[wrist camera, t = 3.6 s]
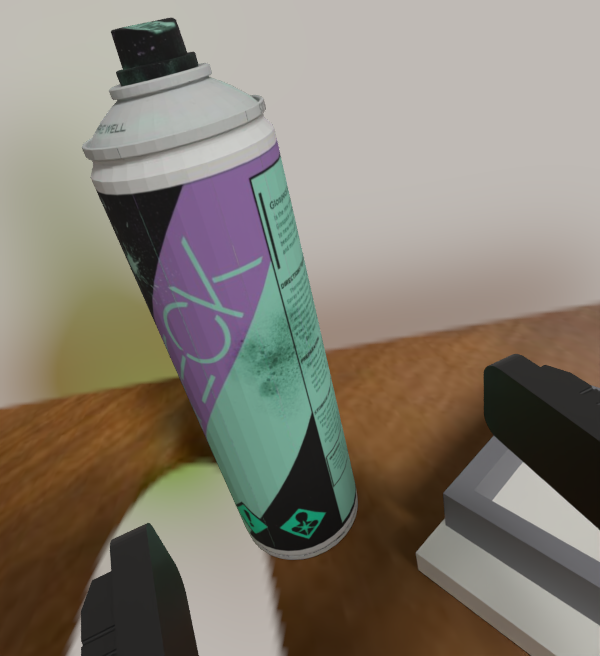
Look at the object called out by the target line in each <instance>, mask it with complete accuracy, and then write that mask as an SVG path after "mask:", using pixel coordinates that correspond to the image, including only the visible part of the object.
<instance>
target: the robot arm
mask: <svg viewBox="0 0 600 656" xmlns="http://www.w3.org/2000/svg"><path fill="white" fill-rule="evenodd" d="M484 417H485V420H486V423H487V425H488V427H489V429H490V431H491V432H492V433H493V435H494V436H495V437H496V438H497V439H498V440H499V441H500V442H501V443H502V444H504V445H505V446H506V447H507V448H508V449H509V450H510V451H511V452H513V453H514V454H515V455H516V456H517V457H518V458H519V459H520V460H521V461H523V462H524V463H525V464H526V465H527V466H528V467H529V468H530V469H532V470H533V471H534V472H535V473H536V474H537V475H538V476H539V477H541V478H542V479H543V480H544V481H545V482H546V483H547V484H548V485H550V486H551V487H552V488H553V489H554V490H555V491H556V492H557V493H559V494H560V495H561V496H562V497H563V498H564V499H565V500H566V501H568V502H569V503H570V504H571V505H572V506H573V507H574V508H575V509H576V510H578V511H579V512H580V513H581V514H582V515H583V516H584V517H585V518H587V519H588V520H589V521H590V522H591V523H592V524H593V525H594V526H596V527H597V528H598V529H599V530H600V391H599V390H597V389H593V388H592V386H591V385H589V384H588V383H586V382H585V381H583V380H581V379H580V378H578V377H577V376H575V375H573V374H572V373H570V372H566V371H563V370H560V369H557V368H554V367H551V366H547V365H544V366H542V367H539V366H538V365H536V364H535V363H533V362H531V361H530V360H528V359H527V358H525V357H524V356H522V355H519V354H513V355H511V356H509V357H506V358H504V359H502V360H500V361H498V362H496V363H494V364H491V365H489V366H487V367H486V368H485V370H484ZM110 556H111V572H109V573H107V574H105V575H103V576H100V577H98V578H96V579H94V580H92V582H91V585H90V588H89V591H88V594H87V596H86V599H85V602H84V605H83V608H82V610H81V642H82V644H83V647H81V656H199V655H198V650H197V645H196V640H195V635H194V630H193V626H192V620H191V615H190V610H189V605H188V601H187V596H186V592H185V588H184V584H183V581H182V578H181V576H180V573H179V571H178V568H177V567H176V564H175V563H174V561H173V559H172V558H171V556H170V554H169V553H168V551H167V550H166V548H165V546H164V545H163V543H162V541H161V540H160V538H159V536H158V535H157V534H156V532H155V530H154V528H153V527H152V525H151V524H150V523H147V524H145V525H142V526H140V527H138V528H136V529H134V530H132V531H130V532H127V533H125V534H123V535H121V536H119V537H117V538H115V539H113V540H111V543H110Z"/></svg>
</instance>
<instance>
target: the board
mask: <svg viewBox="0 0 600 656" xmlns="http://www.w3.org/2000/svg"><path fill="white" fill-rule="evenodd" d="M591 386H592V385H591ZM592 388H593V389H597V390H599V391H600V388H598V387H595V386H592ZM443 499H444V512H445V519H444V520H443V521H442V522H441V523H440V524H439V526H438V527H437V528H436V529H435V530H434V532H433V533H432V534H431V535H430V536H429V537H428V539H427V540H426V541H425V542H424V543H423V545H422V546H421V547H420V548H419V549H418V551H417V552H416V558H417V565H418V570H419V571H421V572H422V573H423V574H424V575H426V576H427V577H428V578H430V579H431V580H432V581H434V582H435V583H436V584H438V585H439V586H440V587H442V588H443V589H444V590H446V591H447V592H448V593H449V594H451V595H452V596H453V597H455V598H456V599H457V600H459V601H460V602H461V603H463V604H464V605H465V606H467V607H468V608H469V609H471V610H472V611H473V612H474V613H476V614H477V615H478V616H480V617H481V618H482V619H484V620H485V621H486V622H488V623H489V624H490V625H492V626H493V627H494V628H496V629H497V630H498V631H499V632H501V633H502V634H503V635H505V636H506V637H507V638H509V639H510V640H511V641H513V642H514V643H515V644H517V645H518V646H519V647H521V648H522V649H523V650H525V651H526V652H527V653H528V654H530V655H531V656H600V530H599V529H598V528H597V527H596V526H594V525H593V524H592V523H591V522H590V521H589V520H588V519H587V518H585V517H584V516H583V515H582V514H581V513H580V512H579V511H578V510H576V509H575V508H574V507H573V506H572V505H571V504H570V503H569V502H568V501H566V500H565V499H564V498H563V497H562V496H561V495H560V494H559V493H557V492H556V491H555V490H554V489H553V488H552V487H551V486H550V485H548V484H547V483H546V482H545V481H544V480H543V479H542V478H541V477H539V476H538V475H537V474H536V473H535V472H534V471H533V470H532V469H530V468H529V467H528V466H527V465H526V464H525V463H524V462H523V461H521V460H520V459H519V458H518V457H517V456H516V455H515V454H514V453H513V452H511V451H510V450H509V449H508V448H507V447H506V446H505V445H504V444H502V443H501V442H500V441H499V440H498V439H497V438H496V437H495V436H493V437H492V438H491V439H490V441H489V442H488V443H487V444H486V445H485V446H484V447H483V448H482V450H481V451H480V452H479V453H478V454H477V455H476V456H475V458H474V459H473V460H472V461H471V462H470V463H469V464H468V465H467V467H466V468H465V469H464V470H463V471H462V472H461V473H460V475H459V476H458V477H457V478H456V479H455V480H454V481H453V483H452V484H451V485H450V486H449V487H448V488H447V489H446V490H445V492H444V493H443Z"/></svg>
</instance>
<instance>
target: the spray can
mask: <svg viewBox="0 0 600 656" xmlns="http://www.w3.org/2000/svg"><path fill="white" fill-rule="evenodd" d="M111 33H112V37H113V40H114V43H115V46H116V49H117V52H118V56H119V59H120V62H121V65H122V68H123V70H119V71H117V72H116V74H117V77H118V79H119V82H120V85H117V86H114V87H112V88H111V89H110V90H109V92H110V95H111V97H112V99H113V100H117V102H116V103H115V104H114V105H113V106H112V108H111V109H110V110H109V112H108V113H107V114H106V116H105V117H104V119H103V120H102V121H101V123H100V125H99V127H98V128H97V130H96V132H95V134H94V135H93V138H91V139H89V140H88V141H86V142H85V143H84V144H83V146H82V149H83V151H84V154H85V156H86V158H88V159H89V160H92V162H93V169H92V173H91V179H92V182H93V184H94V186H95V188H96V191H97V193H98V195H99V198H100V200H101V202H102V204H103V206H104V209H105V211H106V213H107V216H108V218H109V220H110V222H111V224H112V227H113V229H114V231H115V234H116V236H117V238H118V240H119V242H120V245H121V247H122V249H123V252H124V254H125V256H126V258H127V260H128V263H129V265H130V267H131V270H132V272H133V274H134V276H135V279H136V281H137V283H138V285H139V288H140V290H141V292H142V294H143V297H144V299H145V301H146V304H147V306H148V308H149V310H150V312H151V315H152V317H153V319H154V322H155V324H156V325H157V328H158V330H159V333H160V335H161V337H162V339H163V342H164V344H165V346H166V349H167V351H168V353H169V355H170V358H171V359H172V362H173V364H174V367H175V369H176V371H177V373H178V376H179V378H180V380H181V382H182V385H183V387H184V389H185V391H186V394H187V396H188V398H189V400H190V403H191V405H192V407H193V409H194V412H195V414H196V416H197V418H198V421H199V423H200V425H201V428H202V430H203V432H204V434H205V437H206V439H207V441H208V443H209V446H210V448H211V450H212V452H213V455H214V457H215V459H216V461H217V464H218V466H219V468H220V470H221V473H222V475H223V477H224V479H225V482H226V484H227V486H228V488H229V491H230V493H231V495H232V497H233V500H234V502H235V504H236V506H237V509H238V511H239V513H240V515H241V517H242V520H243V522H244V524H245V527H246V529H247V531H248V532H249V534H250V536H251V538H252V539H253V541H254V542H255V543H256V544H257V545H258V547H259V548H260V549H262V550H263V551H265V552H266V553H268V554H269V555H272V556H275V557H278V558H281V559H289V560H297V559H306V558H310V557H314V556H317V555H319V554H321V553H323V552H326V551H327V550H329V549H330V548H332V547H333V546H335V545H336V544H337V543H338V542H339V541H340V540H341V539H342V538H343V537H344V536H345V535H346V534H347V532H348V531H349V529H350V528H351V526H352V524H353V522H354V520H355V517H356V513H357V508H358V500H357V490H356V486H355V481H354V477H353V472H352V468H351V464H350V459H349V455H348V450H347V446H346V442H345V437H344V433H343V428H342V424H341V420H340V415H339V411H338V406H337V402H336V398H335V393H334V389H333V384H332V380H331V376H330V371H329V367H328V362H327V358H326V354H325V349H324V345H323V341H322V336H321V332H320V327H319V323H318V319H317V314H316V310H315V305H314V301H313V297H312V292H311V288H310V283H309V279H308V275H307V271H306V266H305V261H304V257H303V253H302V248H301V244H300V240H299V235H298V231H297V226H296V222H295V217H294V214H293V209H292V204H291V200H290V196H289V191H288V187H287V182H286V178H285V174H284V169H283V165H282V161H281V156H280V152H279V147H278V143H277V138H276V134H275V130H274V127H273V125H272V124H271V123H270V122H269V121H268V120H267V119H266V118H265V117H264V116H263V113H264V111H265V110H266V107H265V103H264V99H263V97H262V96H258V95H249V94H247V93H245V92H244V91H242V90H239V89H238V88H236V87H234V86H232V85H230V84H227V83H225V82H222V81H220V80H217V79H214V78H211V77H209V75H211V73H212V71H211V68H210V65H209V64H207V63H203V64H198V62H197V58H196V55H195V52H189V53H187V51H186V48H185V45H184V42H183V39H182V36H181V34H180V30H179V27H178V25H177V22H176V20H175V19H174V18H166V19H162V20H157V21H152V22H147V23H142V24H137V25H132V26H128V27H123V28H119V29H115V30H112V31H111Z"/></svg>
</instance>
